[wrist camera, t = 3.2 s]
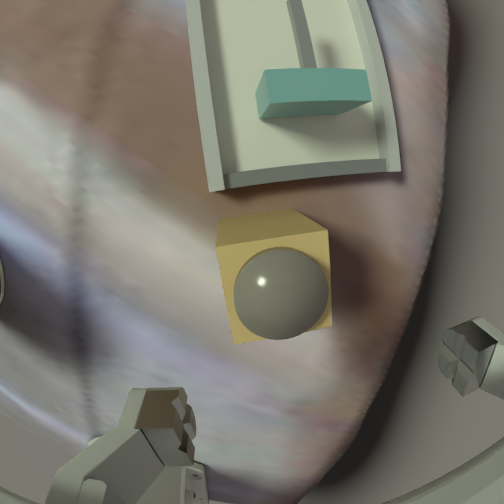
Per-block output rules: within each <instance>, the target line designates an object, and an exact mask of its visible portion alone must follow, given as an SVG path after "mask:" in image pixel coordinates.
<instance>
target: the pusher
mask: <svg viewBox="0 0 504 504" xmlns="http://www.w3.org/2000/svg"><path fill="white" fill-rule="evenodd" d="M286 4H287V8H288V12H289V17H290V21H291V25H292V30H293V34H294V39H295V44H296V49H297V54H298V59H299V64H300V68H285V69H268V70H264V72H263V75H262V77H261V80H260V82H259V85H258V87H257V90H256V92H255V95H256V102H257V108H258V115H259V120H260V119H270V118H281V117H294V116H310V115H337V114H342V113H345V112H347V111H349V110H352V109H354V108H356V107H359V106H361V105H364V104H366V103H368V102H371V101H372V97H371V92H370V87H369V82H368V77H367V72H366V70H362V69H345V68H317V65H316V60H315V55H314V51H313V46H312V42H311V37H310V33H309V29H308V24H307V20H306V16H305V12H304V8H303V5H302V1H301V0H287V2H286Z"/></svg>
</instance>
